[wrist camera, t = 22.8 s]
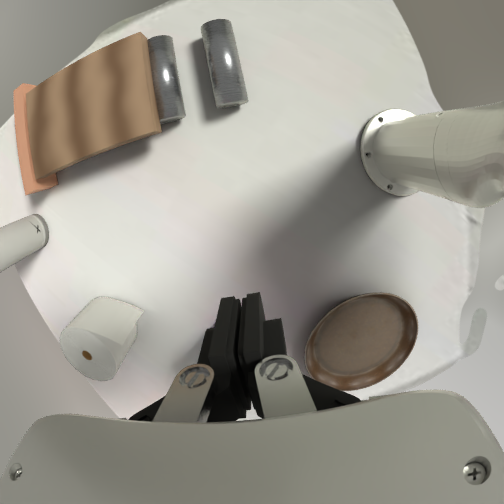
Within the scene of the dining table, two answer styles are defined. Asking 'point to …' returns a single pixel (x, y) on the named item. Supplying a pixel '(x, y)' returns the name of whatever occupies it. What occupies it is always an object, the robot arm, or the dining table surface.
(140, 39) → the slab
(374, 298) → the plant saucer
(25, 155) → the bar
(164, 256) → the dining table surface
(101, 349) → the toilet tissue
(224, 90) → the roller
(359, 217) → the dining table surface
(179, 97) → the middle roller
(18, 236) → the travel mug
